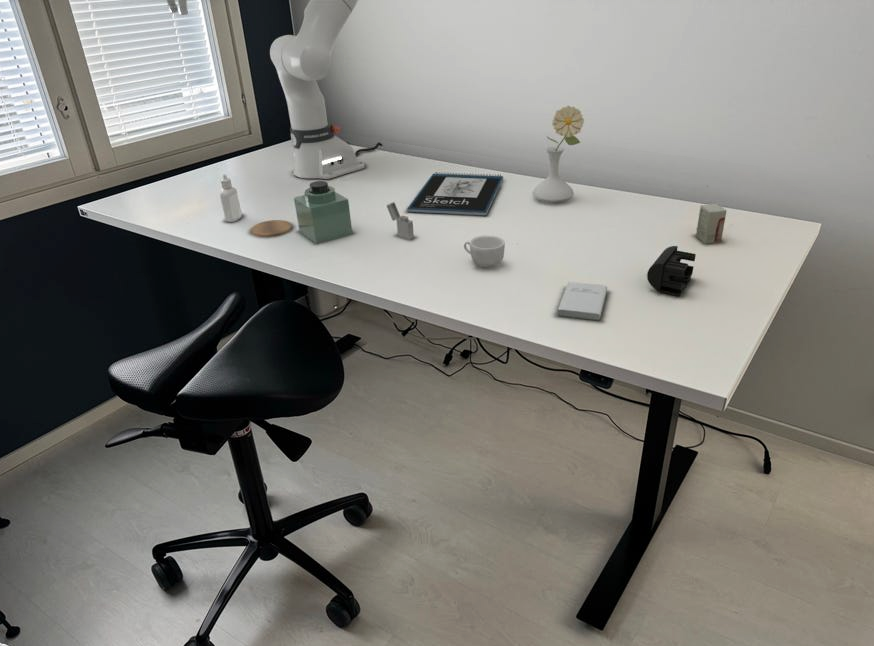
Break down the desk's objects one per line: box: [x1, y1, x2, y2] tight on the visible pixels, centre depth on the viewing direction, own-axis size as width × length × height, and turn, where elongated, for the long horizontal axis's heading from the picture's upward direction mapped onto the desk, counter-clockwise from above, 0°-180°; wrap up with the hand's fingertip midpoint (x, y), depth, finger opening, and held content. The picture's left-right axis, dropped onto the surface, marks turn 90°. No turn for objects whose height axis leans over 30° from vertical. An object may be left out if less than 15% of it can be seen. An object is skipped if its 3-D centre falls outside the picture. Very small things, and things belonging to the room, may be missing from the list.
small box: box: [695, 203, 728, 244], centre depth 159 cm, size 5×4×8 cm
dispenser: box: [293, 185, 353, 244], centre depth 169 cm, size 10×10×11 cm
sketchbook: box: [407, 171, 504, 217], centre depth 192 cm, size 22×30×2 cm
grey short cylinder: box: [309, 180, 329, 194], centre depth 165 cm, size 4×4×2 cm
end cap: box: [646, 245, 697, 297], centre depth 140 cm, size 10×7×7 cm
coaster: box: [251, 219, 292, 238], centre depth 174 cm, size 10×10×1 cm
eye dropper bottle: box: [219, 173, 243, 223], centre depth 178 cm, size 4×6×12 cm
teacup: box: [463, 235, 506, 269], centre depth 152 cm, size 10×8×5 cm
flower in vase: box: [532, 105, 585, 203], centre depth 181 cm, size 13×11×25 cm
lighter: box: [386, 201, 415, 240], centre depth 166 cm, size 7×2×8 cm, turn 51°
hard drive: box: [557, 281, 608, 321], centre depth 136 cm, size 2×8×12 cm
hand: (179, 13), depth 173 cm, fingers open, 8 cm apart
